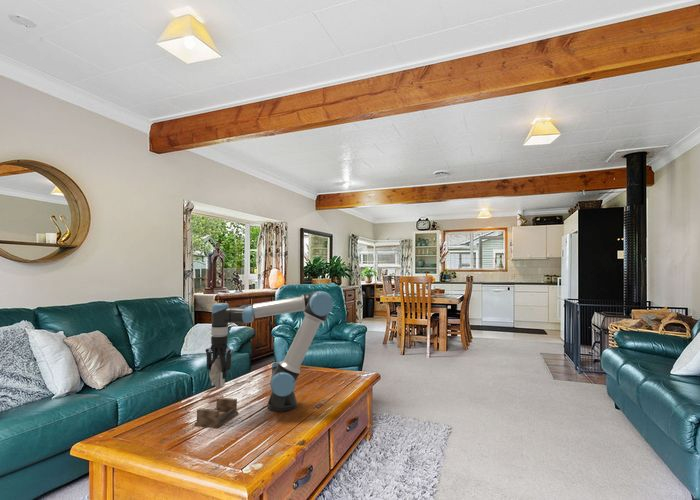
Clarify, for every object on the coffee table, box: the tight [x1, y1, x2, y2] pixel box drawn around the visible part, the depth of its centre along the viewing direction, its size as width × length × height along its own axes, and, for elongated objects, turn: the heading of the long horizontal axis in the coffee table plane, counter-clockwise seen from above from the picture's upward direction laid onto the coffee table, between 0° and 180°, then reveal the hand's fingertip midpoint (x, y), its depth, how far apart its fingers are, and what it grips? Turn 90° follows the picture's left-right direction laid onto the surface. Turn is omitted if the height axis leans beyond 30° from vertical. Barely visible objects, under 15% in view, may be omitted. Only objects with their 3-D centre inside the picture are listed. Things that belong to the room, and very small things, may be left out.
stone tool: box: [208, 356, 222, 390], centre depth 182 cm, size 11×4×15 cm, turn 161°
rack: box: [194, 397, 239, 429], centre depth 181 cm, size 12×18×7 cm, turn 167°
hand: (218, 385), depth 182 cm, fingers closed on stone tool, 4 cm apart
